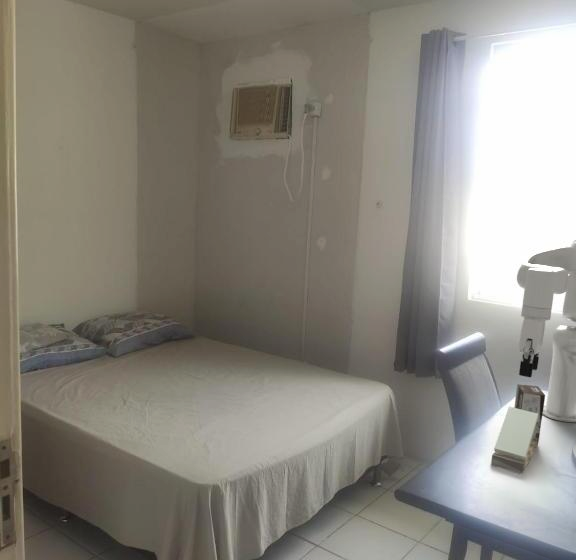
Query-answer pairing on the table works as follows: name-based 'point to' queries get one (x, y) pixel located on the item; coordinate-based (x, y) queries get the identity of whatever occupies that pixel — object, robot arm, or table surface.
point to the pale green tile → (516, 433)
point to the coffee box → (531, 405)
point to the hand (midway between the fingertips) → (528, 372)
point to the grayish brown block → (512, 461)
